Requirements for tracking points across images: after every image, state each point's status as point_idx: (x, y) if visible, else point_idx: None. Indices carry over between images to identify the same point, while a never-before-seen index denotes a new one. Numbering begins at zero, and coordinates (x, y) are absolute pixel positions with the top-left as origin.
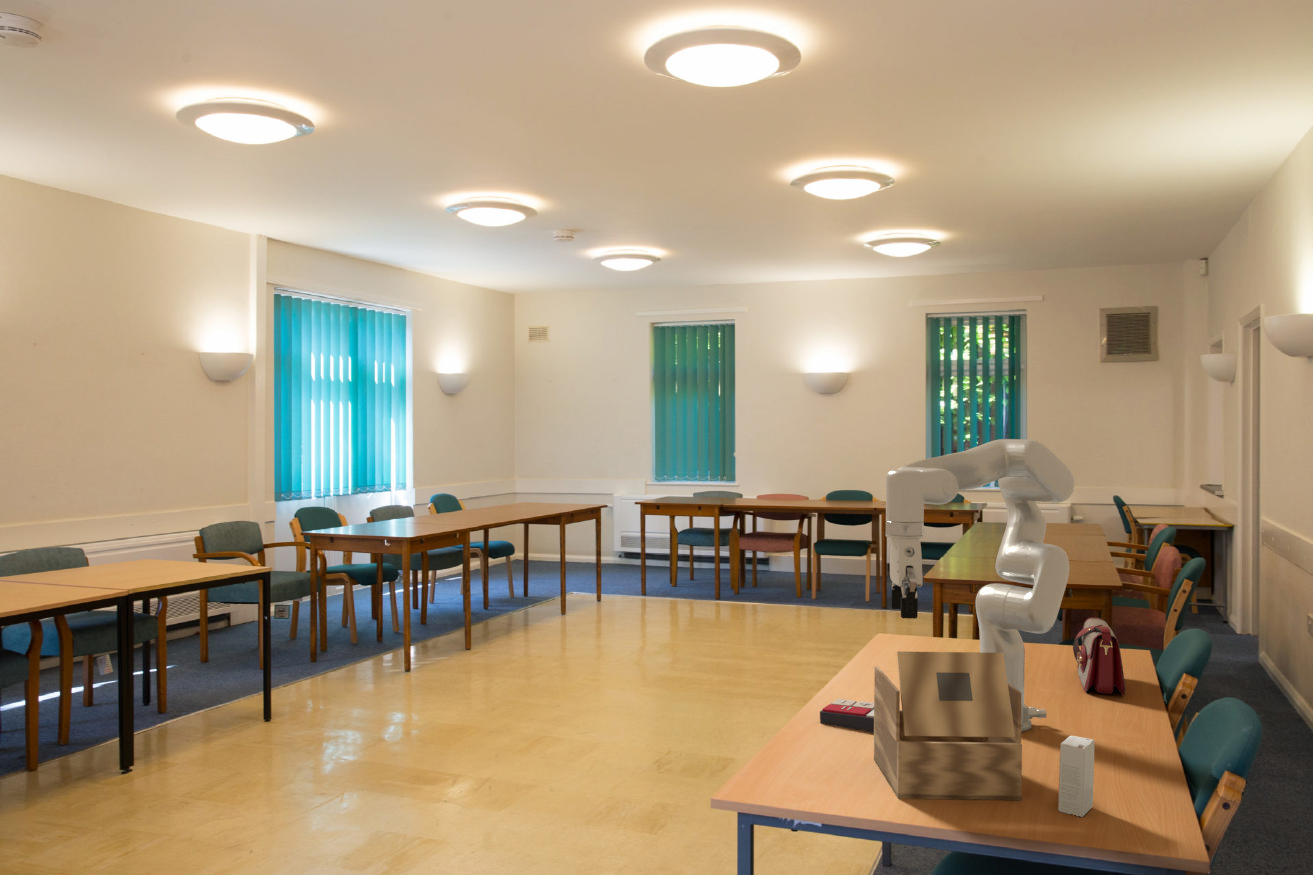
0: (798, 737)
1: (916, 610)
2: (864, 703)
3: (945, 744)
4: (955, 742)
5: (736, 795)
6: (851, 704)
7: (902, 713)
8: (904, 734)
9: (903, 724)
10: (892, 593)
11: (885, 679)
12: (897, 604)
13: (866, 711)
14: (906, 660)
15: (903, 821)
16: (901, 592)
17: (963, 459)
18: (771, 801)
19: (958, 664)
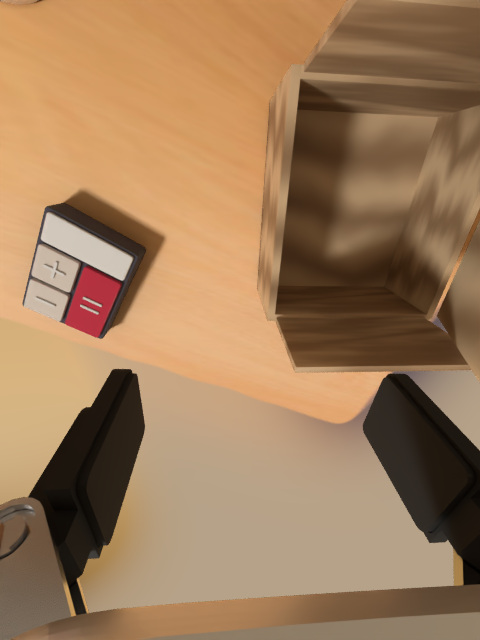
0: (177, 361)
1: (429, 406)
2: (54, 271)
3: (459, 250)
4: (464, 231)
5: (341, 418)
6: (60, 292)
7: (447, 331)
8: (437, 316)
9: (442, 323)
10: (113, 522)
11: (398, 369)
12: (134, 429)
13: (104, 278)
14: None
15: (440, 298)
16: (100, 496)
17: None
18: (360, 397)
19: None
